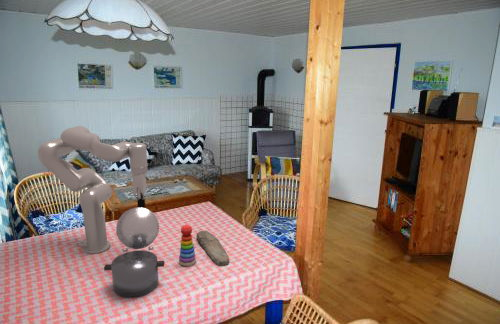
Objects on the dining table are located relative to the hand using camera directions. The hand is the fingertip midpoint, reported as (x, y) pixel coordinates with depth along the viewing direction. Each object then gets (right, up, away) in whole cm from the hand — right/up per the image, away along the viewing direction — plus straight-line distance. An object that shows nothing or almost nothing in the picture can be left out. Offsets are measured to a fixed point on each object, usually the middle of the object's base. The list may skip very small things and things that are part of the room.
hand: (141, 207), depth 167 cm
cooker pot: (+4, -30, -19) cm, 36 cm away
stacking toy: (+22, -26, -2) cm, 34 cm away
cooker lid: (+2, -8, -13) cm, 15 cm away
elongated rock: (+32, -23, +11) cm, 41 cm away
